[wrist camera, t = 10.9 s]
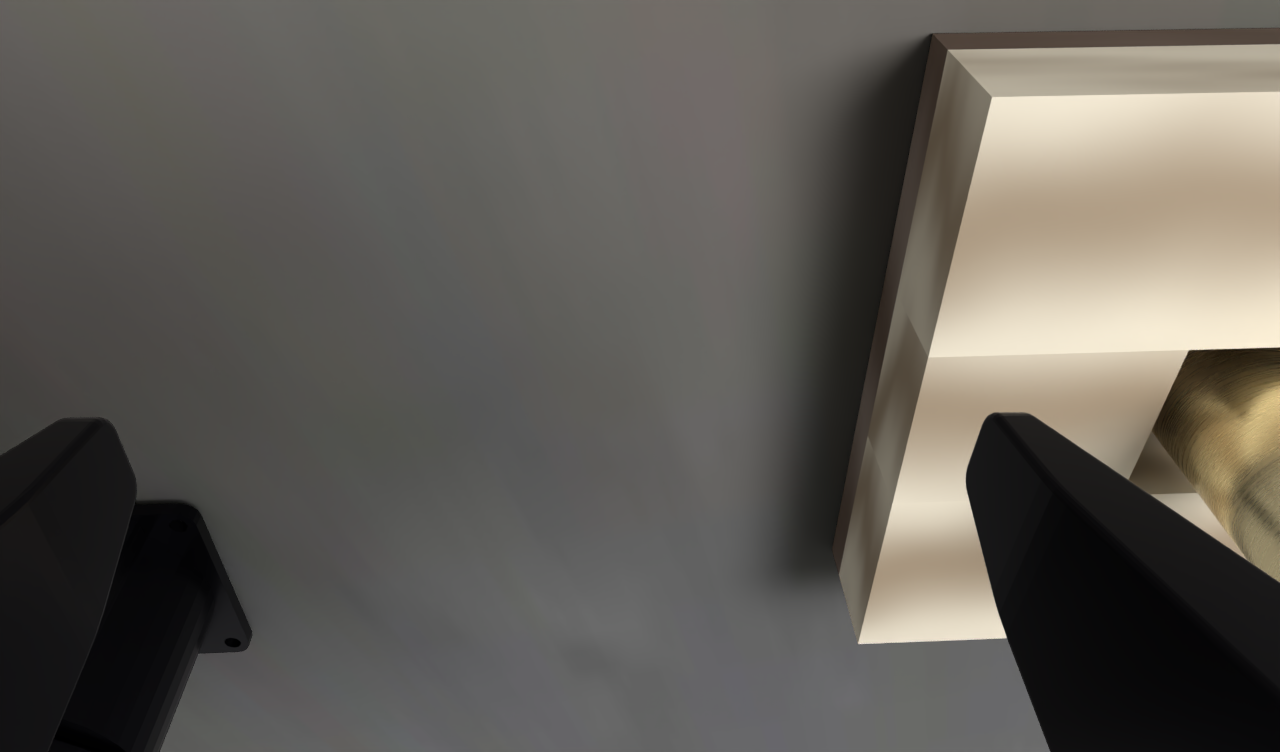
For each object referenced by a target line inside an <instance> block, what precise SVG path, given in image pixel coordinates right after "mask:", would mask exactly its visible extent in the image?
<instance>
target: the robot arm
mask: <svg viewBox="0 0 1280 752" xmlns="http://www.w3.org/2000/svg"><path fill="white" fill-rule="evenodd" d="M966 490H967V494H968V498H969V502H970V506H971V510H972V514H973V518H974V522H975V526H976V530H977V534H978V538H979V541H980V545H981V549H982V553H983V557H984V561H985V565H986V569H987V573H988V577H989V581H990V585H991V589H992V593H993V596H994V600H995V603H996V607H997V610H998V614H999V617H1000V620H1001V623H1002V625H1003V628H1004V631H1005V634H1006V637H1007V639H1008V642H1009V644H1010V647H1011V650H1012V652H1013V655H1014V658H1015V660H1016V663H1017V665H1018V668H1019V671H1020V673H1021V676H1022V679H1023V681H1024V684H1025V686H1026V689H1027V692H1028V694H1029V697H1030V700H1031V702H1032V705H1033V707H1034V710H1035V713H1036V715H1037V718H1038V721H1039V723H1040V726H1041V728H1042V731H1043V734H1044V736H1045V739H1046V742H1047V744H1048V747H1049V749H1050V752H1280V582H1279V581H1277V580H1276V579H1274V578H1273V577H1271V576H1270V575H1269V574H1267V573H1266V572H1264V571H1263V570H1261V569H1260V568H1258V567H1257V566H1255V565H1254V564H1252V563H1251V562H1249V561H1248V560H1246V559H1245V558H1243V557H1242V556H1240V555H1239V554H1237V553H1236V552H1235V551H1233V550H1232V549H1230V548H1229V547H1227V546H1226V545H1224V544H1223V543H1221V542H1220V541H1218V540H1217V539H1215V538H1214V537H1212V536H1211V535H1209V534H1208V533H1206V532H1205V531H1203V530H1202V529H1201V528H1199V527H1198V526H1196V525H1195V524H1193V523H1192V522H1190V521H1189V520H1187V519H1186V518H1184V517H1183V516H1181V515H1180V514H1178V513H1177V512H1175V511H1174V510H1172V509H1171V508H1169V507H1168V506H1166V505H1165V504H1164V503H1162V502H1161V501H1159V500H1158V499H1156V498H1155V497H1153V496H1152V495H1150V494H1149V493H1147V492H1146V491H1144V490H1143V489H1141V488H1140V487H1138V486H1137V485H1135V484H1134V483H1132V482H1131V481H1130V480H1128V479H1127V478H1125V477H1124V476H1122V475H1121V474H1119V473H1118V472H1116V471H1115V470H1113V469H1112V468H1110V467H1109V466H1107V465H1106V464H1104V463H1103V462H1101V461H1100V460H1098V459H1097V458H1096V457H1094V456H1093V455H1091V454H1090V453H1088V452H1087V451H1085V450H1084V449H1082V448H1081V447H1079V446H1078V445H1076V444H1075V443H1073V442H1072V441H1070V440H1069V439H1067V438H1066V437H1064V436H1063V435H1061V434H1060V433H1059V432H1057V431H1056V430H1054V429H1053V428H1051V427H1050V426H1048V425H1047V424H1045V423H1044V422H1042V421H1041V420H1039V419H1038V418H1036V417H1035V416H1033V415H1031V414H1029V413H1026V412H994V413H992V414H989V415H988V416H987V417H986V418H985V420H984V422H983V424H982V426H981V429H980V432H979V435H978V438H977V441H976V443H975V446H974V449H973V452H972V455H971V458H970V460H969V463H968V466H967V470H966ZM136 494H137V484H136V478H135V475H134V472H133V470H132V467H131V465H130V463H129V460H128V458H127V455H126V453H125V451H124V448H123V446H122V443H121V441H120V439H119V436H118V434H117V431H116V429H115V428H114V426H113V424H112V423H111V422H110V421H108V420H107V419H104V418H100V417H79V418H63V419H60V420H58V421H56V422H54V423H53V424H51V425H50V426H48V427H46V428H45V429H43V430H41V431H40V432H38V433H37V434H35V435H33V436H32V437H30V438H28V439H27V440H25V441H24V442H22V443H20V444H19V445H17V446H15V447H14V448H12V449H11V450H9V451H7V452H6V453H4V454H2V455H1V456H0V752H160V749H161V747H162V744H163V742H164V739H165V737H166V734H167V732H168V729H169V727H170V724H171V722H172V719H173V716H174V714H175V711H176V709H177V706H178V704H179V701H180V699H181V696H182V694H183V691H184V689H185V686H186V683H187V681H188V678H189V676H190V673H191V671H192V668H193V666H194V663H195V661H196V658H197V656H198V653H224V652H240V651H244V650H246V649H247V648H248V646H249V644H250V641H251V638H252V630H251V628H250V626H249V624H248V621H247V619H246V617H245V614H244V612H243V610H242V608H241V605H240V603H239V601H238V598H237V596H236V594H235V591H234V589H233V587H232V585H231V582H230V580H229V578H228V575H227V573H226V571H225V569H224V566H223V564H222V562H221V559H220V557H219V555H218V553H217V550H216V548H215V546H214V543H213V541H212V539H211V536H210V534H209V532H208V530H207V527H206V525H205V523H204V520H203V518H202V516H201V514H200V513H199V511H198V510H196V509H195V508H193V507H192V506H189V505H186V504H150V505H134V504H135V500H136ZM180 520H181V521H180Z"/></svg>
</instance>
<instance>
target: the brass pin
mask: <svg viewBox="0 0 1280 752" xmlns="http://www.w3.org/2000/svg"><path fill="white" fill-rule="evenodd" d="M1151 431H1152V433H1153V434H1154V435H1155V437H1156V438H1157V439H1158V441H1159V442H1160V443H1161V445H1162V446H1163V447H1164V449H1165V450H1166V451H1167V453H1168V454H1169V456H1170V457H1171V458H1172V460H1173V461H1174V462H1175V464H1176V465H1177V466H1178V468H1179V469H1180V470H1181V472H1182V473H1183V474H1184V476H1185V477H1186V478H1187V480H1188V481H1189V482H1190V484H1191V485H1192V486H1193V488H1194V489H1195V491H1196V492H1197V493H1198V495H1199V496H1200V497H1201V499H1202V500H1203V501H1204V503H1205V504H1206V505H1207V507H1208V508H1209V509H1210V511H1211V512H1212V513H1213V515H1214V516H1215V517H1216V519H1217V520H1218V521H1219V523H1220V524H1221V525H1222V527H1223V528H1224V530H1225V531H1226V532H1227V534H1228V535H1229V536H1230V538H1231V539H1232V540H1233V542H1234V543H1235V544H1236V546H1237V547H1238V548H1239V550H1240V551H1241V552H1242V554H1243V555H1244V556H1245V558H1246V559H1247V560H1248V561H1249V562H1251V563H1252V564H1254V565H1255V566H1257V567H1258V568H1260V569H1261V570H1263V571H1264V572H1266V573H1267V574H1269V575H1270V576H1271V577H1273V578H1274V579H1276V580H1277V581H1279V582H1280V347H1276V348H1241V349H1206V350H1189V351H1188V353H1187V355H1186V357H1185V359H1184V362H1183V364H1182V366H1181V368H1180V370H1179V372H1178V375H1177V377H1176V379H1175V381H1174V383H1173V385H1172V387H1171V390H1170V392H1169V394H1168V396H1167V398H1166V400H1165V402H1164V405H1163V407H1162V409H1161V411H1160V413H1159V415H1158V418H1157V420H1156V422H1155V424H1154V426H1153V428H1152V430H1151Z"/></svg>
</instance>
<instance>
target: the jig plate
mask: <svg viewBox="0 0 1280 752" xmlns="http://www.w3.org/2000/svg"><path fill="white" fill-rule="evenodd" d="M1276 347H1280V28H1251V29H1189V30H1127V31H1065V32H1003V33H941V34H932V39H931V44H930V50H929V55H928V60H927V65H926V70H925V75H924V80H923V85H922V91H921V96H920V101H919V106H918V111H917V116H916V121H915V126H914V132H913V137H912V142H911V147H910V152H909V157H908V162H907V168H906V173H905V178H904V183H903V188H902V193H901V198H900V203H899V209H898V214H897V219H896V224H895V229H894V234H893V239H892V245H891V250H890V255H889V260H888V265H887V270H886V275H885V280H884V286H883V291H882V296H881V301H880V306H879V311H878V316H877V321H876V327H875V332H874V337H873V342H872V347H871V352H870V357H869V363H868V368H867V373H866V378H865V383H864V388H863V393H862V398H861V404H860V409H859V414H858V419H857V424H856V429H855V434H854V440H853V445H852V450H851V455H850V460H849V465H848V470H847V475H846V481H845V486H844V491H843V496H842V501H841V506H840V511H839V516H838V522H837V527H836V532H835V537H834V542H833V547H832V552H833V555H834V559H835V563H836V566H837V570H838V574H839V577H840V581H841V584H842V588H843V592H844V595H845V599H846V602H847V606H848V610H849V613H850V617H851V621H852V624H853V628H854V631H855V635H856V639H857V642H858V644H872V643H897V642H922V641H947V640H972V639H997V638H1007V637H1006V634H1005V631H1004V628H1003V625H1002V623H1001V620H1000V617H999V614H998V610H997V607H996V603H995V600H994V596H993V593H992V589H991V585H990V581H989V577H988V573H987V569H986V565H985V561H984V557H983V553H982V549H981V545H980V541H979V538H978V534H977V530H976V526H975V522H974V518H973V514H972V510H971V506H970V502H969V498H968V494H967V490H966V470H967V466H968V463H969V460H970V458H971V455H972V452H973V449H974V446H975V443H976V441H977V438H978V435H979V432H980V429H981V426H982V424H983V422H984V420H985V418H986V417H987V416H988V415H989V414H992V413H994V412H1026V413H1029V414H1031V415H1033V416H1035V417H1036V418H1038V419H1039V420H1041V421H1042V422H1044V423H1045V424H1047V425H1048V426H1050V427H1051V428H1053V429H1054V430H1056V431H1057V432H1059V433H1060V434H1061V435H1063V436H1064V437H1066V438H1067V439H1069V440H1070V441H1072V442H1073V443H1075V444H1076V445H1078V446H1079V447H1081V448H1082V449H1084V450H1085V451H1087V452H1088V453H1090V454H1091V455H1093V456H1094V457H1096V458H1097V459H1098V460H1100V461H1101V462H1103V463H1104V464H1106V465H1107V466H1109V467H1110V468H1112V469H1113V470H1115V471H1116V472H1118V473H1119V474H1121V475H1122V476H1124V477H1125V478H1127V479H1128V480H1130V481H1131V482H1132V483H1134V484H1135V485H1137V486H1138V487H1140V488H1141V489H1143V490H1144V491H1146V492H1147V493H1149V494H1150V495H1152V496H1153V497H1155V498H1156V499H1158V500H1159V501H1161V502H1162V503H1164V504H1165V505H1166V506H1168V507H1169V508H1171V509H1172V510H1174V511H1175V512H1177V513H1178V514H1180V515H1181V516H1183V517H1184V518H1186V519H1187V520H1189V521H1190V522H1192V523H1193V524H1195V525H1196V526H1198V527H1199V528H1201V529H1202V530H1203V531H1205V532H1206V533H1208V534H1209V535H1211V536H1212V537H1214V538H1215V539H1217V540H1218V541H1220V542H1221V543H1223V544H1224V545H1226V546H1227V547H1229V548H1230V549H1232V550H1233V551H1235V552H1236V553H1237V554H1239V555H1240V556H1242V557H1243V558H1245V556H1244V555H1243V554H1242V552H1241V551H1240V550H1239V548H1238V547H1237V546H1236V544H1235V543H1234V542H1233V540H1232V539H1231V538H1230V536H1229V535H1228V534H1227V532H1226V531H1225V530H1224V528H1223V527H1222V525H1221V524H1220V523H1219V521H1218V520H1217V519H1216V517H1215V516H1214V515H1213V513H1212V512H1211V511H1210V509H1209V508H1208V507H1207V505H1206V504H1205V503H1204V501H1203V500H1202V499H1201V497H1200V496H1199V495H1198V493H1197V492H1196V491H1195V489H1194V488H1193V486H1192V485H1191V484H1190V482H1189V481H1188V480H1187V478H1186V477H1185V476H1184V474H1183V473H1182V472H1181V470H1180V469H1179V468H1178V466H1177V465H1176V464H1175V462H1174V461H1173V460H1172V458H1171V457H1170V456H1169V454H1168V453H1167V451H1166V450H1165V449H1164V447H1163V446H1162V445H1161V443H1160V442H1159V441H1158V439H1157V438H1156V437H1155V435H1154V434H1153V433H1152V431H1151V430H1152V428H1153V426H1154V424H1155V422H1156V420H1157V418H1158V415H1159V413H1160V411H1161V409H1162V407H1163V405H1164V402H1165V400H1166V398H1167V396H1168V394H1169V392H1170V390H1171V387H1172V385H1173V383H1174V381H1175V379H1176V377H1177V375H1178V372H1179V370H1180V368H1181V366H1182V364H1183V362H1184V359H1185V357H1186V355H1187V353H1188V351H1189V350H1206V349H1241V348H1276ZM1245 559H1246V558H1245ZM1246 560H1247V559H1246Z"/></svg>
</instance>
